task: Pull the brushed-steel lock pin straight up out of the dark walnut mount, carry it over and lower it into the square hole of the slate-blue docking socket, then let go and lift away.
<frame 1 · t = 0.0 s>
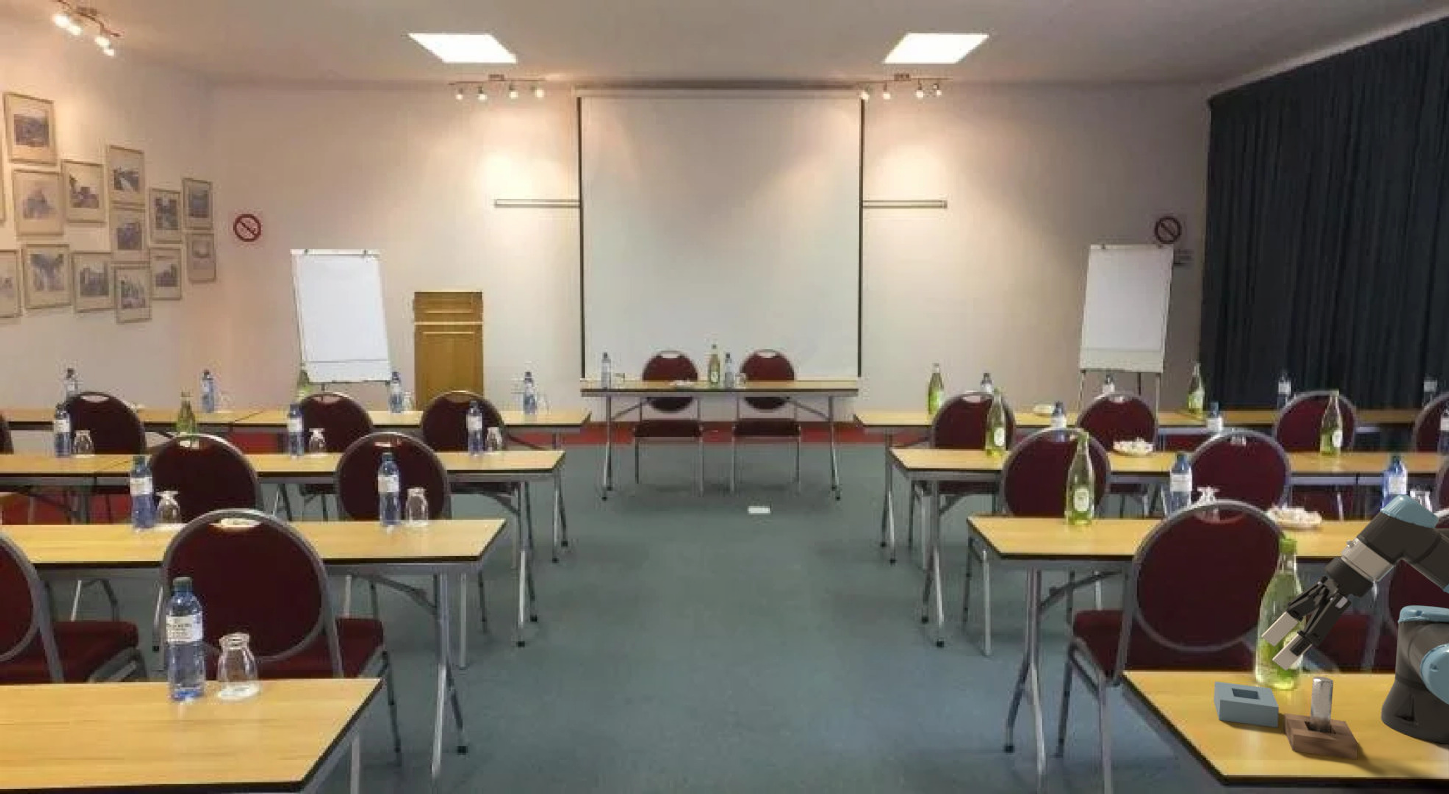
hand: (1273, 652, 192), 15 cm above the table, tool tilted 35°, fingers open, 13 cm apart
docking socket: (1244, 713, 201), on the table
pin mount: (1318, 743, 188), on the table
lock pin: (1320, 711, 187), in the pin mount
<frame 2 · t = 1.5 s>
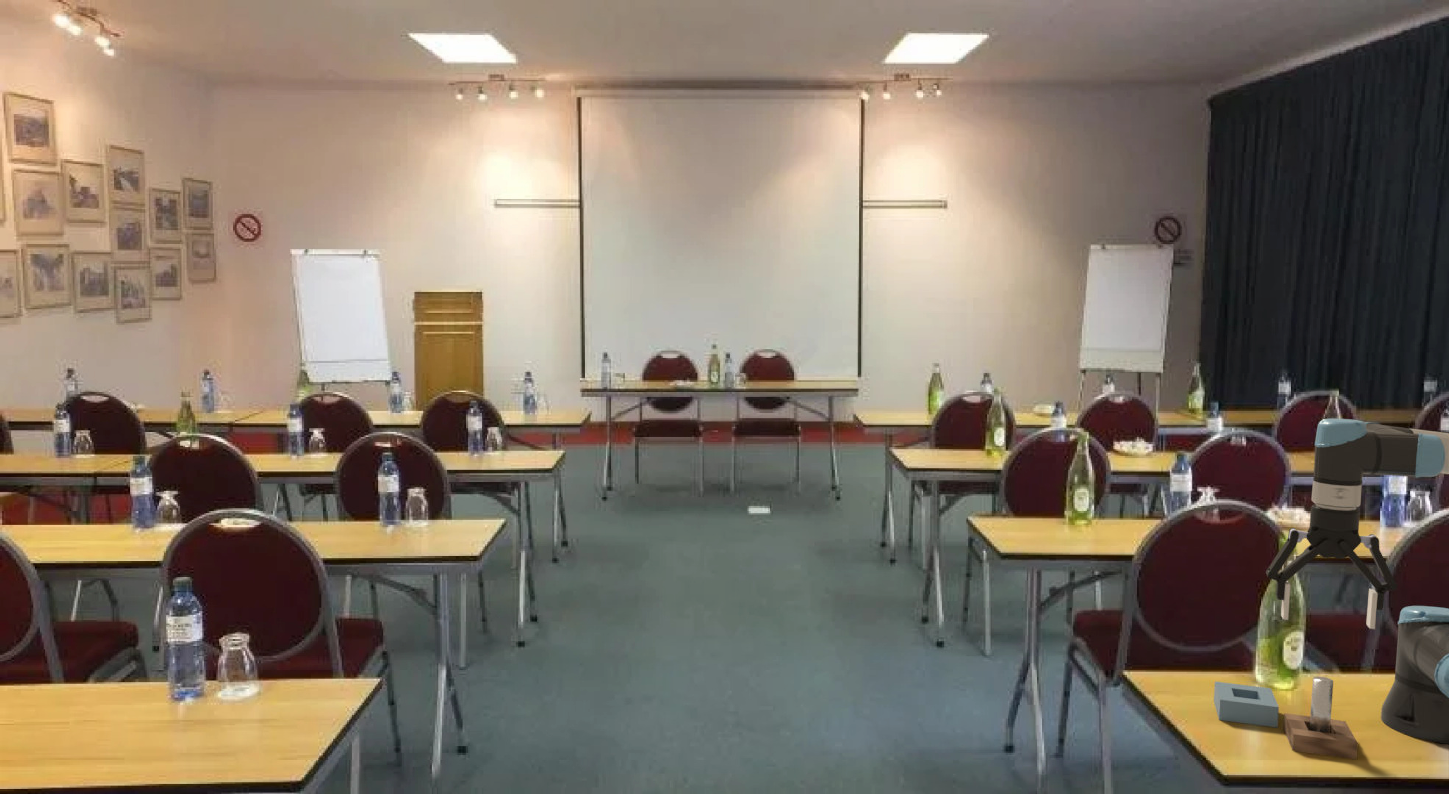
hand: (1326, 622, 186), 23 cm above the table, tool pointing down, fingers open, 13 cm apart
nothing on the table moved.
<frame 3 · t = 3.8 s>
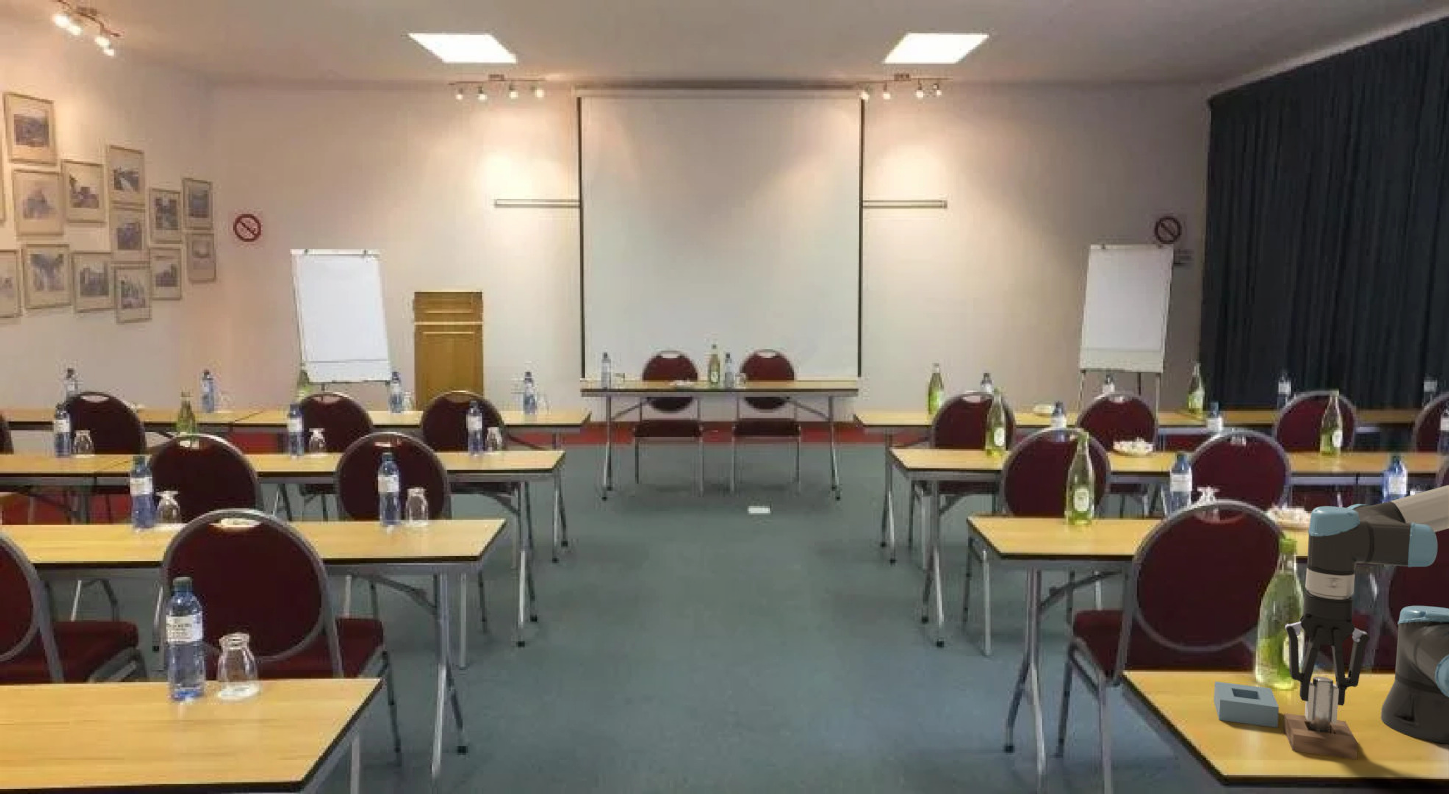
hand: (1320, 719, 188), 5 cm above the table, tool pointing down, fingers closed on lock pin, 3 cm apart
lock pin: (1320, 711, 187), in the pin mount, touching gripper
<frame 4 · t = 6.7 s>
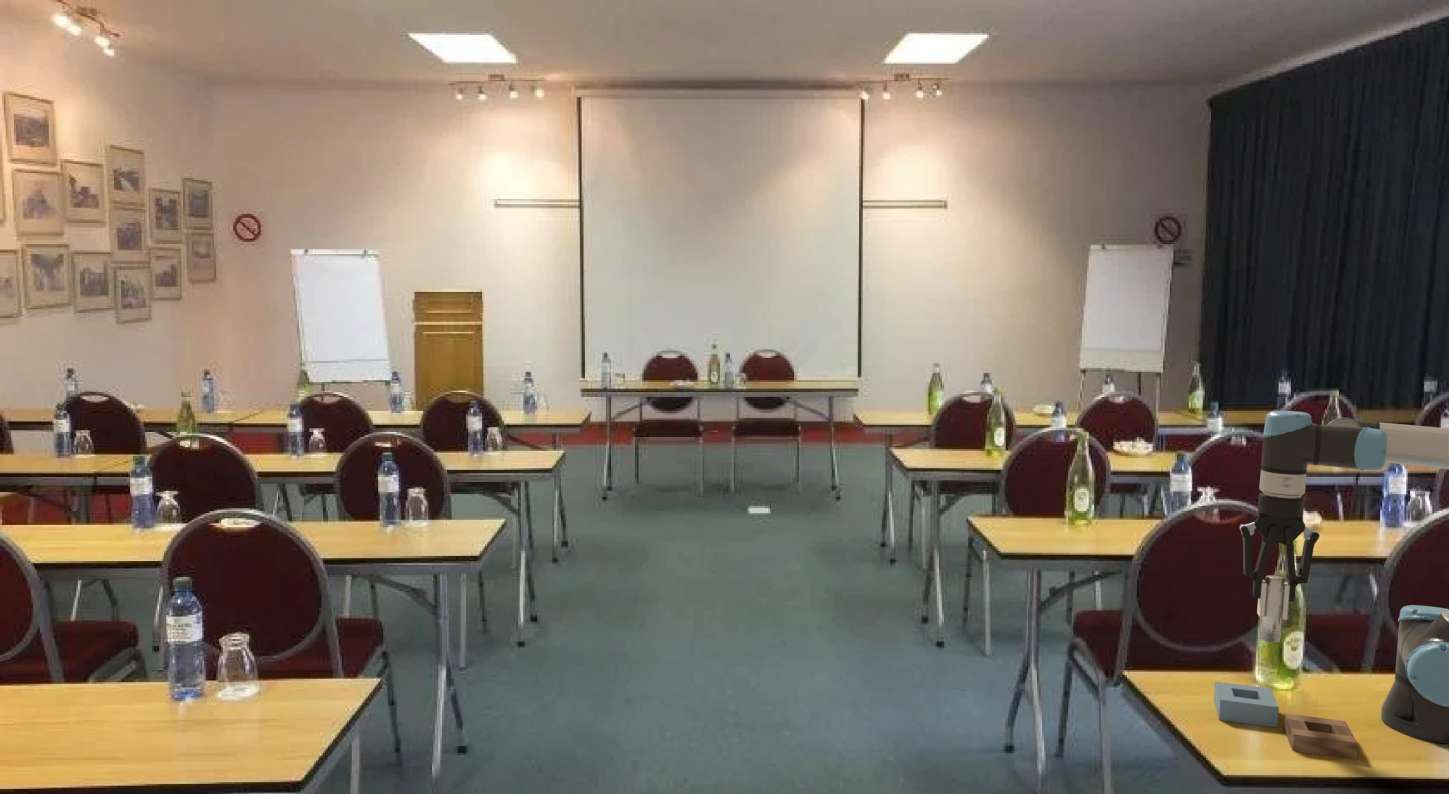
hand: (1271, 616, 195), 21 cm above the table, tool pointing down, fingers closed on lock pin, 3 cm apart
lock pin: (1272, 608, 195), point 22 cm above the table, touching gripper
when the fingers open (6 cm above the table, at t = 9.5 s): lock pin drops 2 cm, resting in docking socket.
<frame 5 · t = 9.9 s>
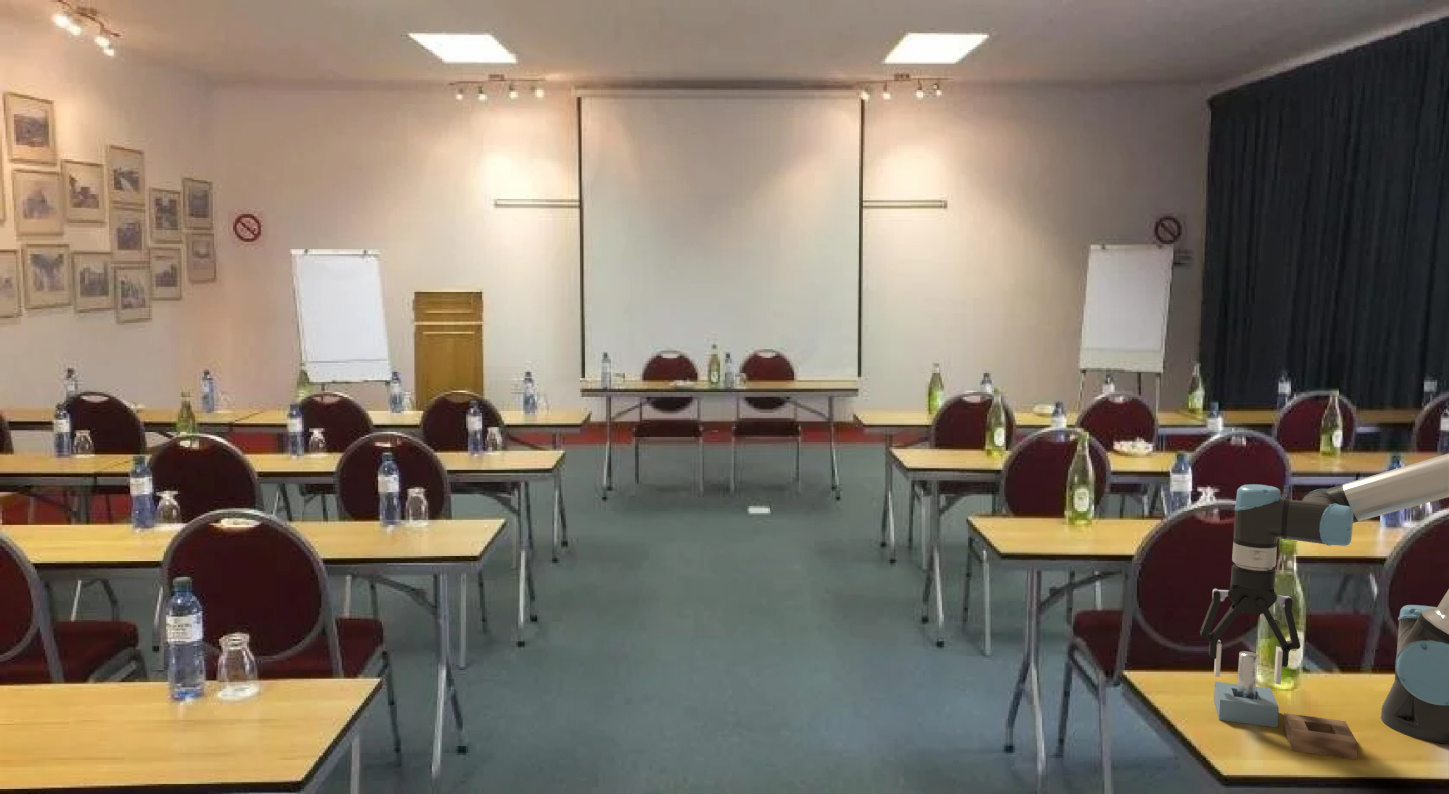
hand: (1246, 678, 200), 7 cm above the table, tool pointing down, fingers open, 10 cm apart
lock pin: (1246, 684, 200), in the docking socket
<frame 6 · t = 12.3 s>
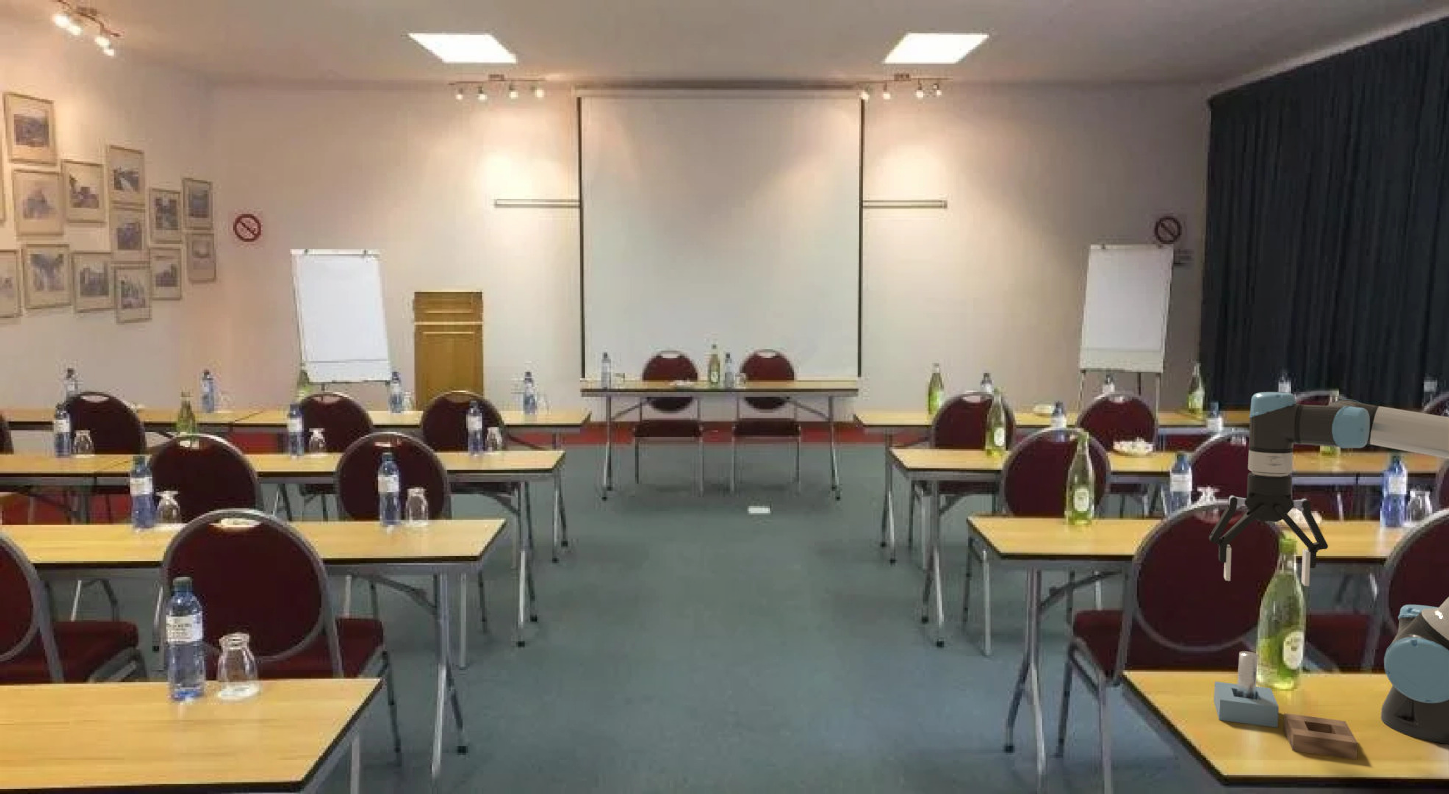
hand: (1265, 581, 200), 26 cm above the table, tool pointing down, fingers open, 13 cm apart
nothing on the table moved.
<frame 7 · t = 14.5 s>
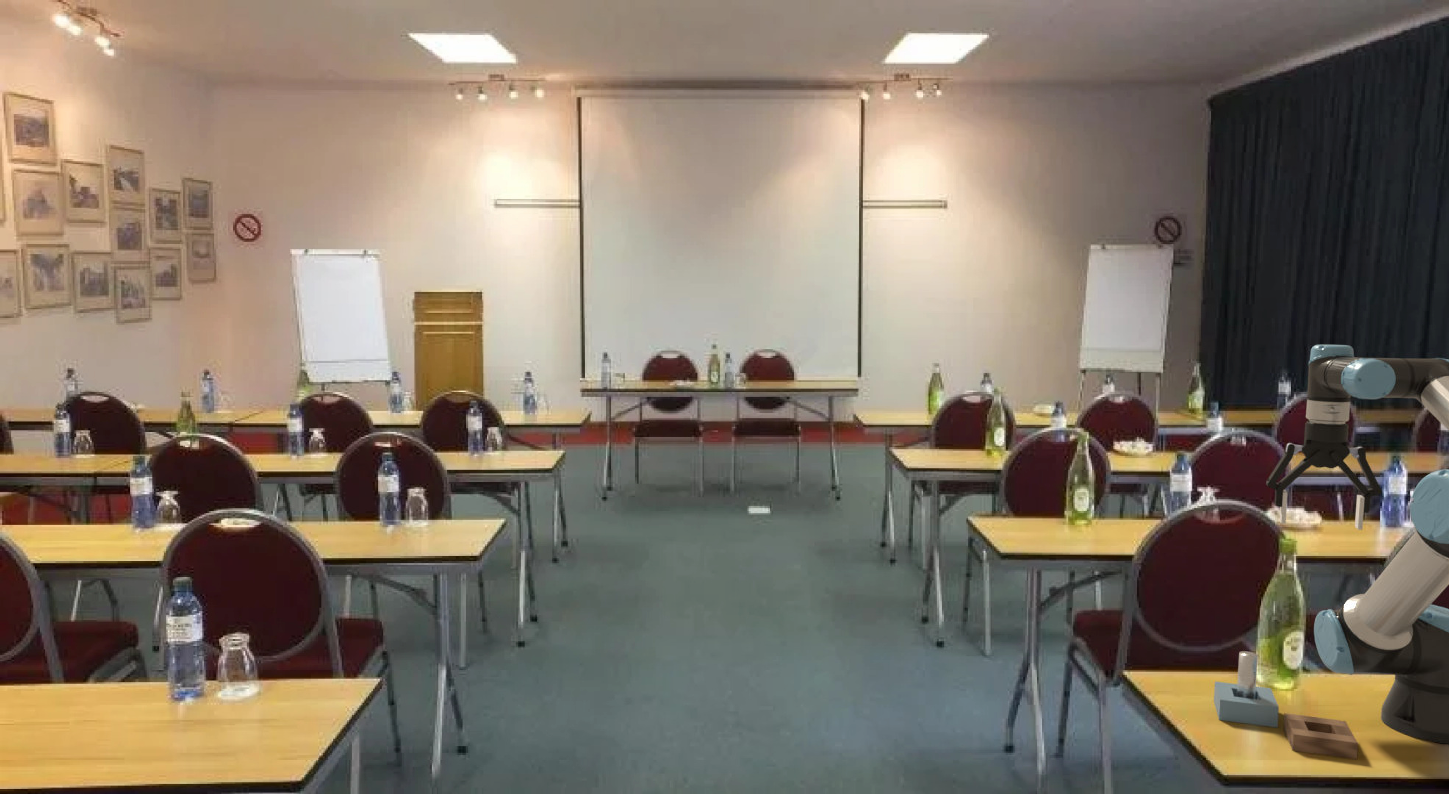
hand: (1320, 525, 210), 35 cm above the table, tool pointing down, fingers open, 13 cm apart
nothing on the table moved.
at the end: lock pin 0.0 cm off-centre on the docking socket, point 6.0 cm above the docking socket's base; lock pin tilted 0°; the gripper is holding nothing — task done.
